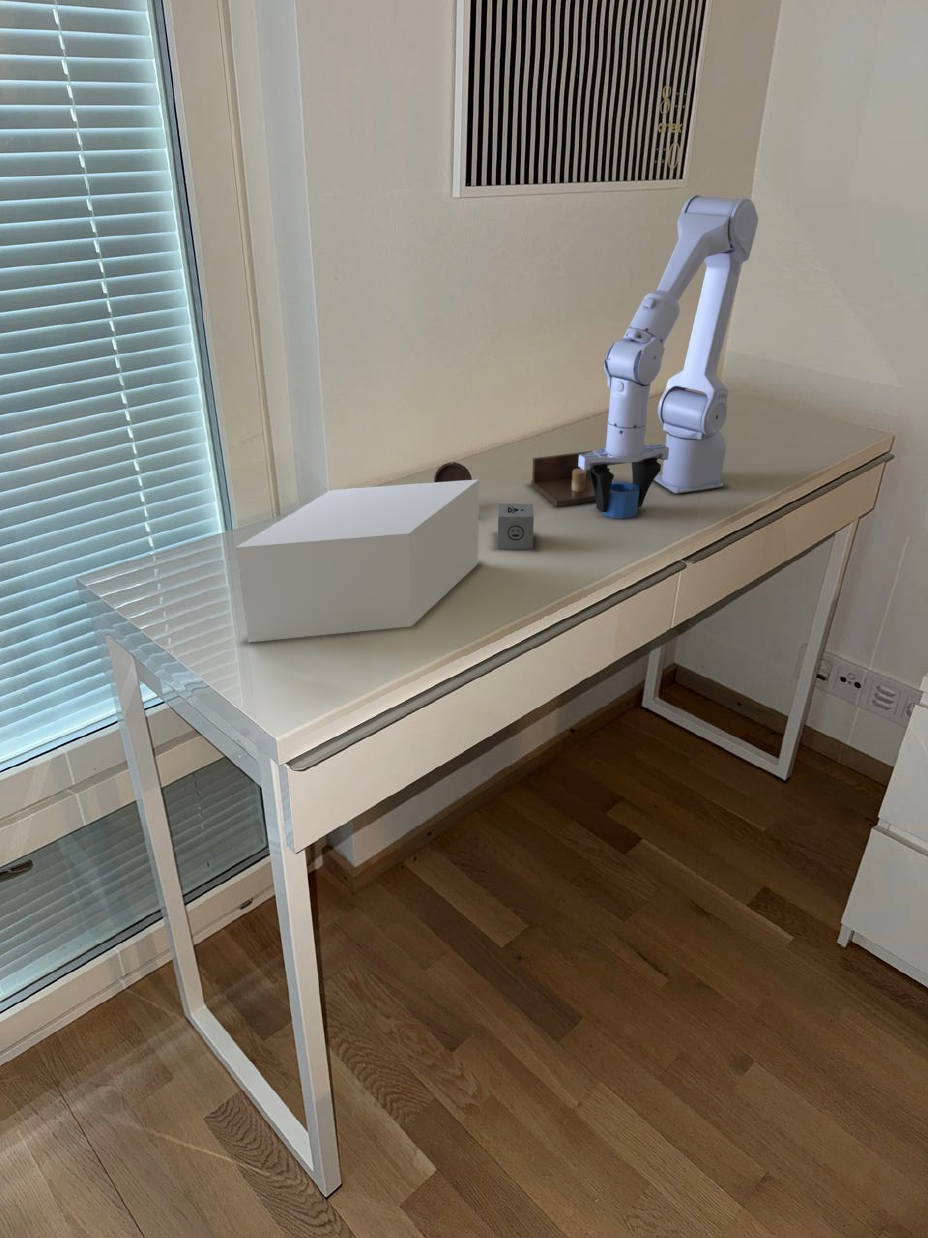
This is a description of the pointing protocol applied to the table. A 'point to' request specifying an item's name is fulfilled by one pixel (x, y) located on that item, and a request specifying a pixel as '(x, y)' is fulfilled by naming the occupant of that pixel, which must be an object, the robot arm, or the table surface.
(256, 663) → the table surface
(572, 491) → the holder
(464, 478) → the compass
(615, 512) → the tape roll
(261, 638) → the block
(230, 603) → the table surface
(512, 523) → the dice cube
